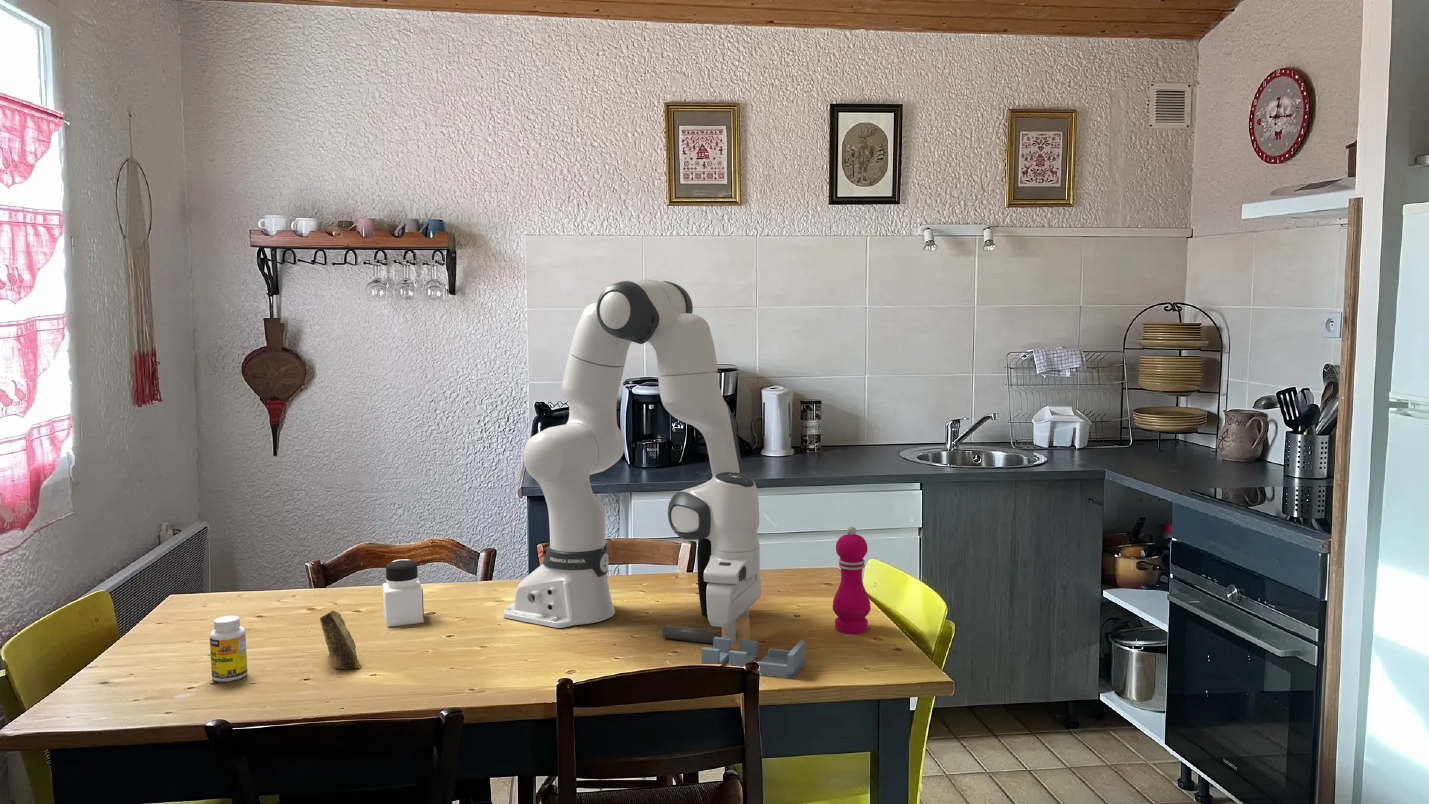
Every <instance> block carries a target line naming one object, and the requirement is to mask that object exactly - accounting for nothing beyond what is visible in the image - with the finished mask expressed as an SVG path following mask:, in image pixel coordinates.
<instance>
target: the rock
mask: <svg viewBox="0 0 1429 804" xmlns="http://www.w3.org/2000/svg"><path fill="white" fill-rule="evenodd" d="M319 621H320V625H321V628H322V632H323V635H324V640H325V643H326V645H327V650H328V653H329V655H330V656H331V658H332V659H331V661H332V663H333V667H334V669H341V670H342V669H343V670H352V669H351V668H355V669H357V668H359V667H361V665H360V661H359V659H358V655H357V651H356V650H357V649H356V643H355V641H354V638H353V637H352V635H351V633H350V630H349V629H348V628H347V626H346V622H345V620H344V619H343V617H342V615H341V613H339V612H338V611H336V610H331V611H330V612H328V613H326V614H324V615H322V616H321V617H320V618H319ZM361 668H362V667H361ZM359 669H360V668H359Z"/></svg>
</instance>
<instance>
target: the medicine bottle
mask: <svg viewBox="0 0 1429 804" xmlns="http://www.w3.org/2000/svg"><path fill="white" fill-rule="evenodd" d="M418 572H419V571H418V563H417V562H416V561H415V560H412V559H404V558H403V559H395V560H392V561H390V562H389V563H387V564H386V565H385V580H386V582H384V583H382V601H383V602H382V603H383V606H382V607H383V617H384V621H385V625H386V627H387V628H390V627H392V628H393V627H400V626H409V625H415V624H416V625H417V624H423V623H424V622H425V616H424V615H425V613H424V589H423V587H422V584H421V582H420V580H419V573H418Z"/></svg>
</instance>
